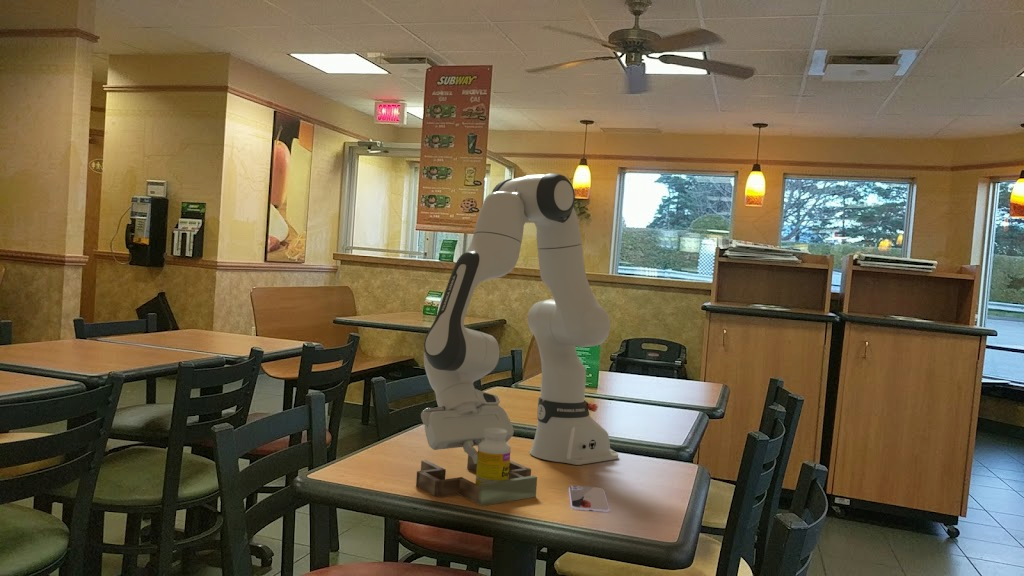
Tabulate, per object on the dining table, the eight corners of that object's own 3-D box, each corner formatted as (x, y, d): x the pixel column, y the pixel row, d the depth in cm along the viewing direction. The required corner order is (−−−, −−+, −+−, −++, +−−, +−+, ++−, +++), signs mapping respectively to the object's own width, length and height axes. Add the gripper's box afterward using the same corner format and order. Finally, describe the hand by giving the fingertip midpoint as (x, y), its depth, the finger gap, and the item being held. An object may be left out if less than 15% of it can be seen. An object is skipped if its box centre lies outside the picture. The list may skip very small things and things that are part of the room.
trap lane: (400, 477, 153) (401, 458, 153) (489, 465, 168) (490, 448, 168) (459, 509, 135) (461, 488, 135) (554, 493, 149) (555, 474, 149)
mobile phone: (571, 506, 140) (568, 484, 155) (570, 511, 140) (568, 488, 155) (610, 509, 139) (603, 486, 154) (610, 514, 139) (603, 491, 154)
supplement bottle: (503, 500, 143) (507, 435, 142) (471, 495, 144) (475, 431, 144) (510, 490, 149) (514, 428, 149) (479, 486, 151) (483, 425, 150)
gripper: (424, 399, 149) (446, 458, 142) (504, 395, 162) (527, 449, 154) (412, 417, 153) (432, 475, 145) (491, 411, 165) (513, 464, 158)
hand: (482, 461), depth 150 cm, fingers closed, pressing on supplement bottle
